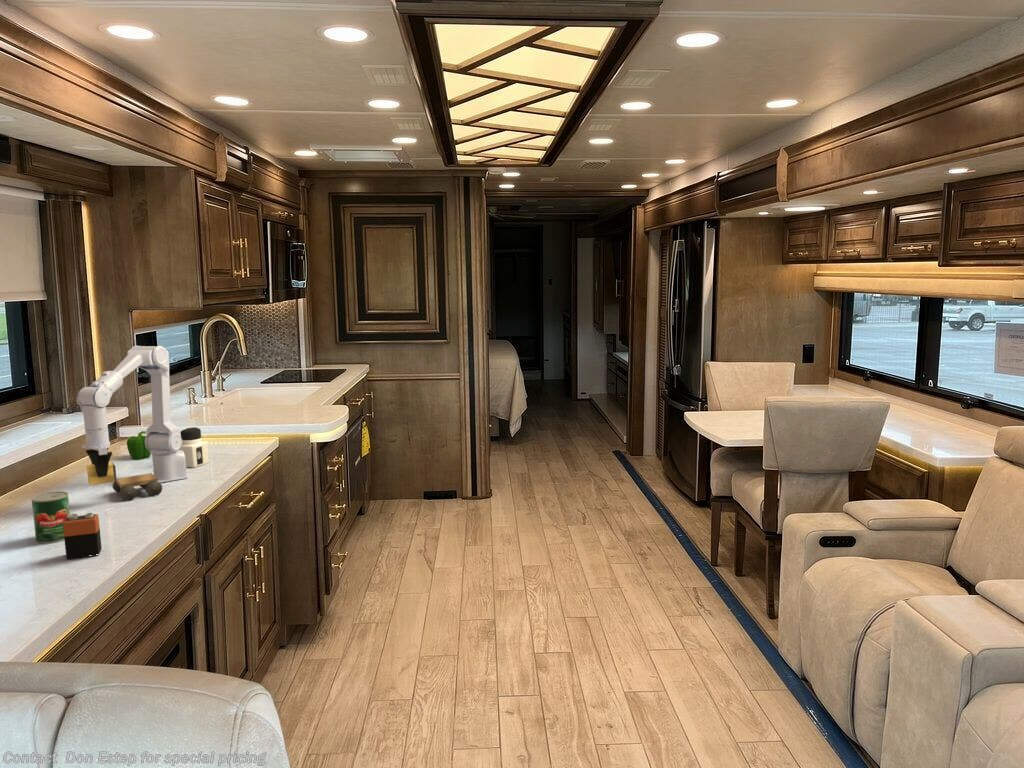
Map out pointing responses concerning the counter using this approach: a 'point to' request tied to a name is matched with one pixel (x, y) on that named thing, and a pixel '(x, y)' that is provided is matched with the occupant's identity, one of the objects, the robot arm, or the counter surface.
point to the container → (194, 447)
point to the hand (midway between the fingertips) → (101, 474)
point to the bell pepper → (138, 447)
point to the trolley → (144, 481)
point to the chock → (94, 478)
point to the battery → (82, 535)
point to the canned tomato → (50, 516)
